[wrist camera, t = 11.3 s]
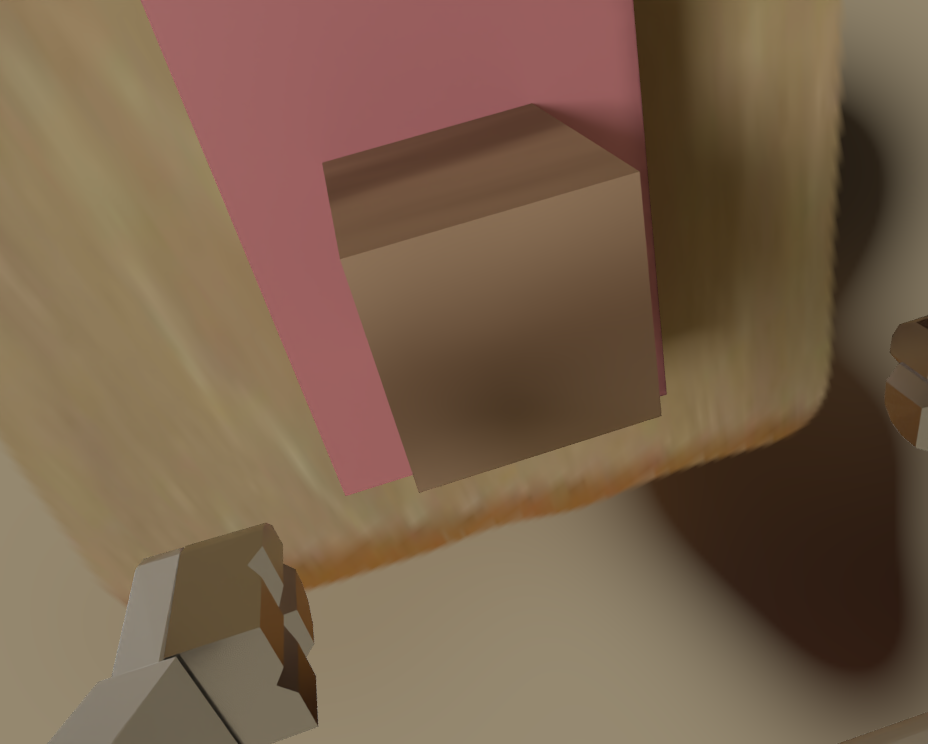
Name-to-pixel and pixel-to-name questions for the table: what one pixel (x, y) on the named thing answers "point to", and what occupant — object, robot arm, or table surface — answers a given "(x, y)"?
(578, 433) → the walnut block
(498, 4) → the book
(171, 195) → the table surface
